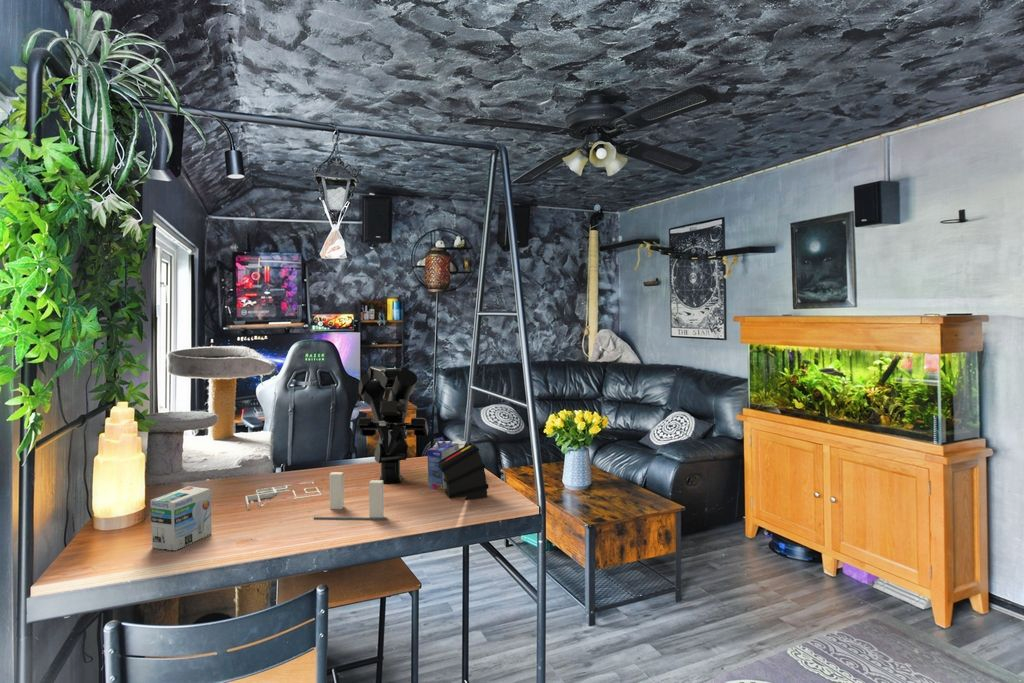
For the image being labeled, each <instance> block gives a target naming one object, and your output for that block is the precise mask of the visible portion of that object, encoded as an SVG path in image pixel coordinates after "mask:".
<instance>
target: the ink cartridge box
mask: <svg viewBox="0 0 1024 683" xmlns="http://www.w3.org/2000/svg"><path fill="white" fill-rule="evenodd" d="M439 441H443V442H441V443H439ZM445 441H446V440H445V439H444V437H443V436H440V437H438V438H435V443H436V442H437V444H438V445H437V446H435V447H431V448H429V449H427V452H426V456H427V478H428V488H431V489H438V490H445V489H447V486H446V482H445V481H444V480H443V479H444V478H445V477H444V474H443V472H442V471H441V470H440V469H439V467H438V466H439V464H438V462H439V461H440V460H442V459H444V458H445V457H447V456H449V455H451V454H452V453H454V452H456V451H457V450H459V444H457V443H449V442H445Z"/></svg>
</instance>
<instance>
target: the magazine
mask: <svg viewBox="0 0 1024 683" xmlns="http://www.w3.org/2000/svg"><path fill="white" fill-rule="evenodd" d="M479 451H480V449H479V447H478V446H477V445H476V444H475V443H474V442H468V443H467V445H466V446H464V447H462V448H461V449H459V450H457V451H456V452H454V453H452V454H451V455H449V456H447V457H445V458H444V459H442V460H440V461H439V462H438V464H439V466H438V467H439V469H440V470H441V471H442V472H443V474H444V477H445V478H444V479H443V480H444V481H445V482H446V486H447V488H446V490H444V493H445V495H446V496H447V497H448V498H449V499H456V498H457V499H458V498H465V499H464V501H467V500H477V499H484V497H485V498H488V489H489V488H490V487H489V484H488V483H487V475H486V471H485V470H486V469H485V468H486V464H485V463H484V462H483V460H482V457H481V454H480V452H479Z"/></svg>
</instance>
